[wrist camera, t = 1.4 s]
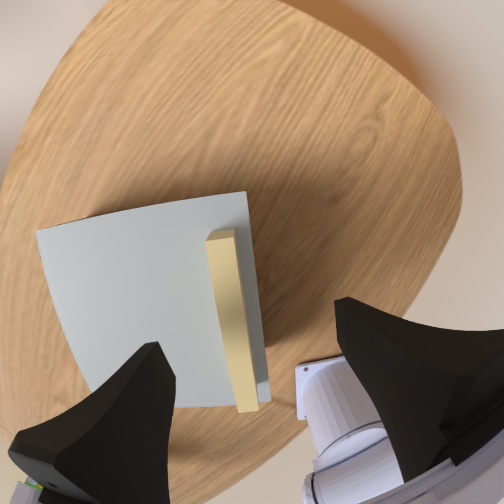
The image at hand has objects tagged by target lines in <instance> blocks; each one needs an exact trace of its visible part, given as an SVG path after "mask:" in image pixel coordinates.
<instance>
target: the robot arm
mask: <svg viewBox="0 0 504 504" xmlns="http://www.w3.org/2000/svg"><path fill="white" fill-rule="evenodd" d="M334 305H335V316H336V329H337V341H338V344H339V346H340V348H341V350H342V353H343V355H344V356H340V357H335V358H331V359H326V360H321V361H316V362H310V363H305V364H300V365H297V366H296V368H295V376H296V401H297V418H298V419H299V420H305V419H307V422H308V425H309V429H310V432H311V436H312V439H313V443H314V446H315V450H316V454H317V457H318V458H317V459H316V460H313V461H312V466H313V470H314V472H313V473H310V474H308V475H307V476H306V478H305V481H304V484H303V486H302V500H303V504H497V503H498V502H499V501H500V500H501V499H502V498H503V497H504V329H500V330H489V331H462V330H451V329H443V328H437V327H432V326H427V325H423V324H419V323H415V322H411V321H408V320H405V319H402V318H399V317H396V316H394V315H391V314H388V313H386V312H383V311H381V310H379V309H376V308H374V307H372V306H369V305H367V304H365V303H362V302H360V301H358V300H356V299H353V298H350V297H345V298H342V299H339V300H335V301H334ZM306 367H308V368H307V369H304V368H306ZM175 398H176V376H175V374H174V372H173V370H172V368H171V366H170V364H169V362H168V360H167V358H166V356H165V354H164V352H163V350H162V348H161V346H160V344H159V342H158V341H155V342H149V343H145V344H144V345H142V346H141V347H140V348H139V349H138V350H137V351H136V352H135V353H134V354H133V355H132V356H131V357H130V358H129V359H128V360H127V361H126V362H125V363H124V364H123V365H122V366H121V367H120V368H119V369H118V370H117V371H116V372H115V373H114V374H113V375H112V376H111V377H110V378H109V379H108V380H107V381H105V382H104V383H103V384H102V385H101V386H100V387H99V388H98V389H97V390H95V391H94V392H93V393H92V394H90V395H89V396H88V397H86V398H85V399H84V400H82V401H81V402H80V403H78V404H77V405H75V406H73V407H72V408H70V409H69V410H67V411H65V412H64V413H62V414H60V415H58V416H56V417H54V418H52V419H50V420H48V421H46V422H44V423H41V424H39V425H36V426H33V427H31V428H28V429H25V430H21V431H19V432H18V433H17V435H16V436H15V438H14V440H13V442H12V444H11V446H10V448H9V450H8V455H9V457H10V458H11V460H12V461H13V462H14V463H15V464H16V465H17V466H18V467H19V468H20V469H21V470H22V471H23V472H25V473H26V474H27V475H28V476H29V477H31V478H32V479H33V480H34V481H36V482H37V483H38V484H39V485H41V486H42V487H43V489H42V492H40V491H38V490H37V489H35V488H33V487H31V486H29V485H26V484H24V483H22V482H20V481H18V482H17V484H16V487H15V490H14V492H13V495H12V497H11V500H10V503H9V504H170V498H169V488H168V467H167V464H168V441H169V434H170V428H171V422H172V416H173V410H174V404H175Z"/></svg>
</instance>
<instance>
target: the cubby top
mask: <svg viewBox="0 0 504 504" xmlns="http://www.w3.org/2000/svg"><path fill="white" fill-rule="evenodd" d="M36 236H37V241H38V246H39V251H40V256H41V260H42V264H43V268H44V272H45V276H46V280H47V283H48V287H49V290H50V293H51V297H52V300H53V303H54V306H55V309H56V312H57V315H58V318H59V320H60V323H61V326H62V329H63V331H64V334H65V336H66V339H67V341H68V344H69V346H70V348H71V351H72V353H73V355H74V358H75V360H76V362H77V364H78V366H79V368H80V371H81V373H82V375H83V377H84V379H85V381H86V383H87V385H88V387H89V388H90V390H91V392H92V393H93V392H94V391H95V390H97V389H98V388H99V387H100V386H101V385H102V384H103V383H104V382H105V381H107V380H108V379H109V378H110V377H111V376H112V375H113V374H114V373H115V372H116V371H117V370H118V369H119V368H120V367H121V366H122V365H123V364H124V363H125V362H126V361H127V360H128V359H129V358H130V357H131V356H132V355H133V354H134V353H135V352H136V351H137V350H138V349H139V348H140V347H141V346H142V345H144V344H145V343H149V342H155V341H158V342H159V344H160V346H161V348H162V350H163V352H164V354H165V356H166V358H167V360H168V362H169V364H170V366H171V368H172V370H173V372H174V374H175V376H176V398H175V404H174V407H213V406H229V405H237V409H238V413H242V412H252V411H259V403H260V402H268V401H271V394H270V386H269V377H268V369H267V361H266V352H265V344H264V335H263V327H262V319H261V310H260V302H259V294H258V285H257V277H256V269H255V261H254V252H253V244H252V236H251V228H250V219H249V211H248V203H247V195H246V191H242V192H234V193H226V194H219V195H212V196H205V197H198V198H192V199H185V200H179V201H173V202H167V203H161V204H156V205H150V206H145V207H139V208H134V209H129V210H124V211H119V212H114V213H109V214H105V215H100V216H96V217H91V218H87V219H82V220H78V221H74V222H70V223H66V224H62V225H58V226H54V227H50V228H46V229H42V230H39V231H36Z"/></svg>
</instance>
